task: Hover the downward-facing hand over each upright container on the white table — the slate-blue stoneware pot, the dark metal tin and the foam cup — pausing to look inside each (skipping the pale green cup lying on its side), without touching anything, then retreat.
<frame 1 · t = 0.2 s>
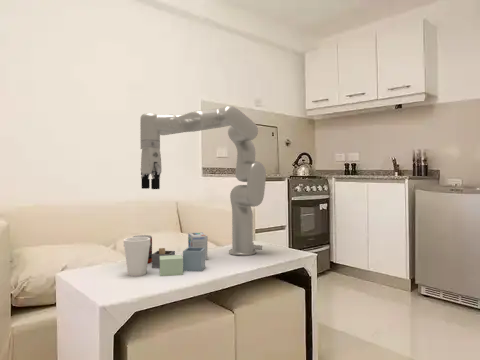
hand: (150, 188, 147), 31 cm above the table, tool pointing down, fingers open, 9 cm apart
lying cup: (171, 274, 135), on the table
foam cup: (137, 275, 134), on the table
wooden dowel: (162, 266, 145), resting on metal tin
light bulb box: (197, 259, 160), on the table
canned food: (142, 263, 153), on the table
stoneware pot: (194, 270, 141), on the table, touching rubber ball
metal tin: (163, 267, 146), on the table, touching wooden dowel
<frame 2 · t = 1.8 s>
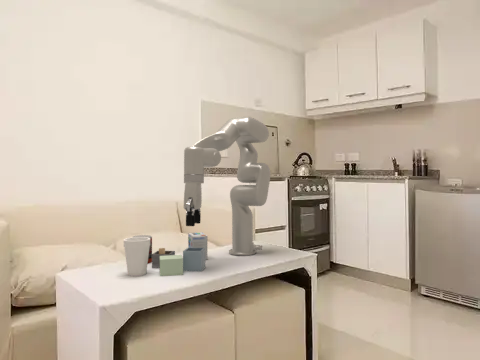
hand: (193, 224, 141), 17 cm above the table, tool pointing down, fingers open, 9 cm apart
nothing on the table moved.
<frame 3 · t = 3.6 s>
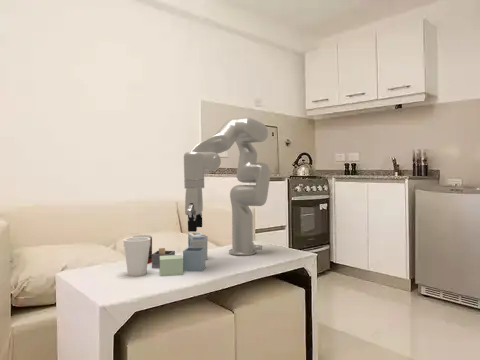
hand: (195, 229, 142), 15 cm above the table, tool pointing down, fingers open, 9 cm apart
nothing on the table moved.
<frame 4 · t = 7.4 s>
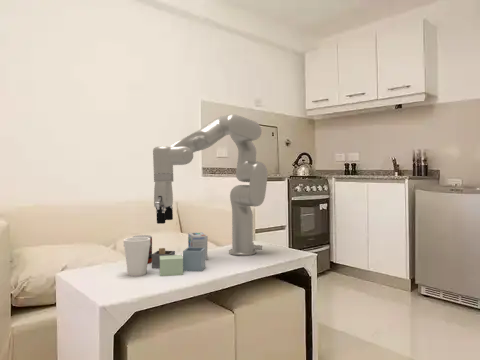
hand: (165, 221, 146), 18 cm above the table, tool pointing down, fingers open, 9 cm apart
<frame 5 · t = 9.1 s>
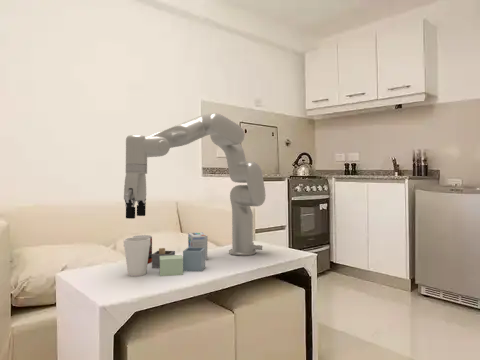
hand: (135, 217, 134), 21 cm above the table, tool pointing down, fingers open, 9 cm apart
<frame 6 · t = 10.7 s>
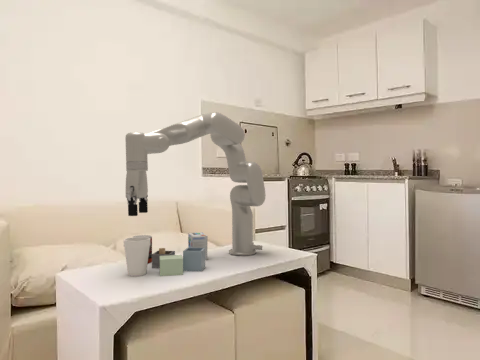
hand: (138, 214, 135), 22 cm above the table, tool pointing down, fingers open, 9 cm apart
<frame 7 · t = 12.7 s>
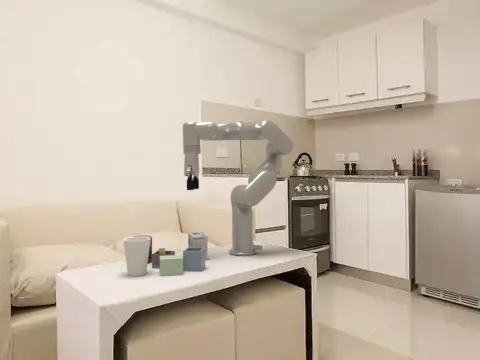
hand: (193, 189, 163), 30 cm above the table, tool pointing down, fingers open, 9 cm apart
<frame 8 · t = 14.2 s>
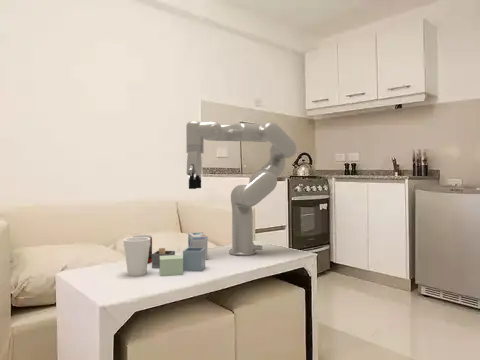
hand: (195, 188, 164), 30 cm above the table, tool pointing down, fingers open, 9 cm apart
at the end: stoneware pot moved 0.1 cm from its start; metal tin moved 0.2 cm from its start; foam cup moved 0.2 cm from its start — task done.
